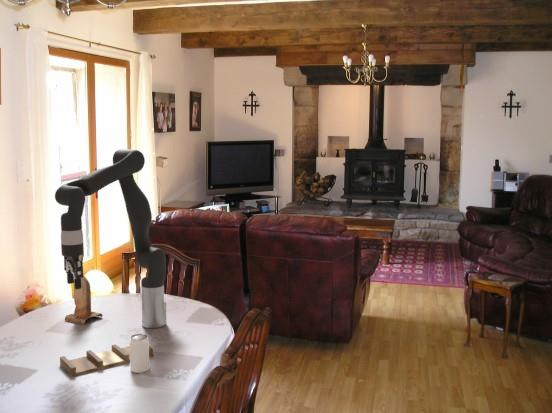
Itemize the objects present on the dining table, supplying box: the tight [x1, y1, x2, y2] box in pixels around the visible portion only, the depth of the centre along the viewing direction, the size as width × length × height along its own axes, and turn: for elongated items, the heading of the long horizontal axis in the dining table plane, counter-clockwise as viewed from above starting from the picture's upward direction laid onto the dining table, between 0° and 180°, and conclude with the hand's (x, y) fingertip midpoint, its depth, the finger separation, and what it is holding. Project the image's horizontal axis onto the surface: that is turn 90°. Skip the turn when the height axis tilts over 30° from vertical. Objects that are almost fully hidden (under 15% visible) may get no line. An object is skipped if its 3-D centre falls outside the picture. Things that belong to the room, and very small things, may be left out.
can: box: [129, 333, 150, 374], centre depth 212 cm, size 6×6×12 cm
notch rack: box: [59, 344, 154, 377], centre depth 220 cm, size 30×12×3 cm, turn 127°
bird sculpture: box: [64, 254, 103, 326], centre depth 262 cm, size 11×12×32 cm
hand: (74, 286), depth 221 cm, fingers open, 8 cm apart
